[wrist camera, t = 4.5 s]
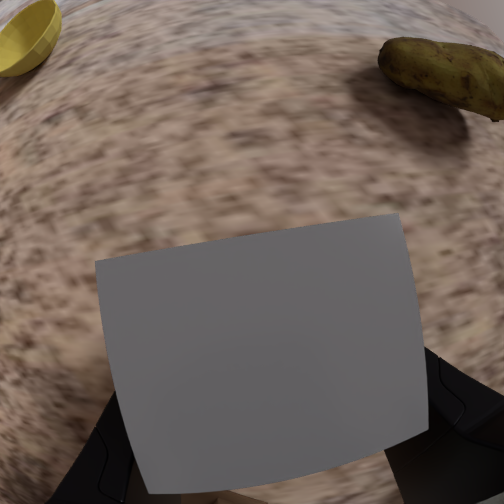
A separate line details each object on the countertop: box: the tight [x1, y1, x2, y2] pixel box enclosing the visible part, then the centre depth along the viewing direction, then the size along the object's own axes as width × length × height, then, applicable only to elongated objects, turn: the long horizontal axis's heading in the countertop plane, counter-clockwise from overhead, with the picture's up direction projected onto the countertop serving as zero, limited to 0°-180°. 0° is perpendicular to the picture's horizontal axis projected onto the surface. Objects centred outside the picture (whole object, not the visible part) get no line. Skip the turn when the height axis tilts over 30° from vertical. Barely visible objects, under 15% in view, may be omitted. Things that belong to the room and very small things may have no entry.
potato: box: [378, 37, 504, 122], centre depth 17 cm, size 8×13×8 cm, turn 60°
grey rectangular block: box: [95, 213, 428, 494], centre depth 10 cm, size 4×5×12 cm
